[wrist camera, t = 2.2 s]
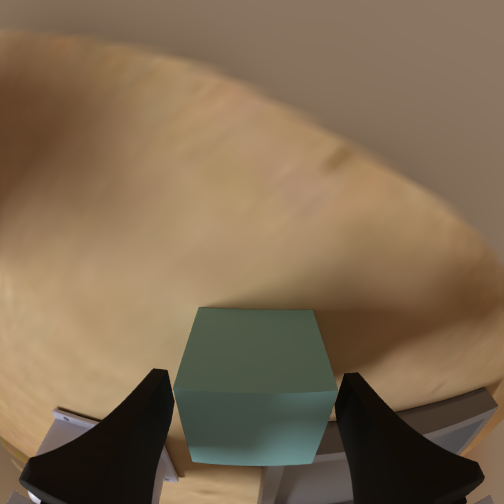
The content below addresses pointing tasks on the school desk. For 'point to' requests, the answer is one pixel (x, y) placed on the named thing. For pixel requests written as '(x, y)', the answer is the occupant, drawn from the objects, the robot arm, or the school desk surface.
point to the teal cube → (254, 387)
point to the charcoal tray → (336, 465)
